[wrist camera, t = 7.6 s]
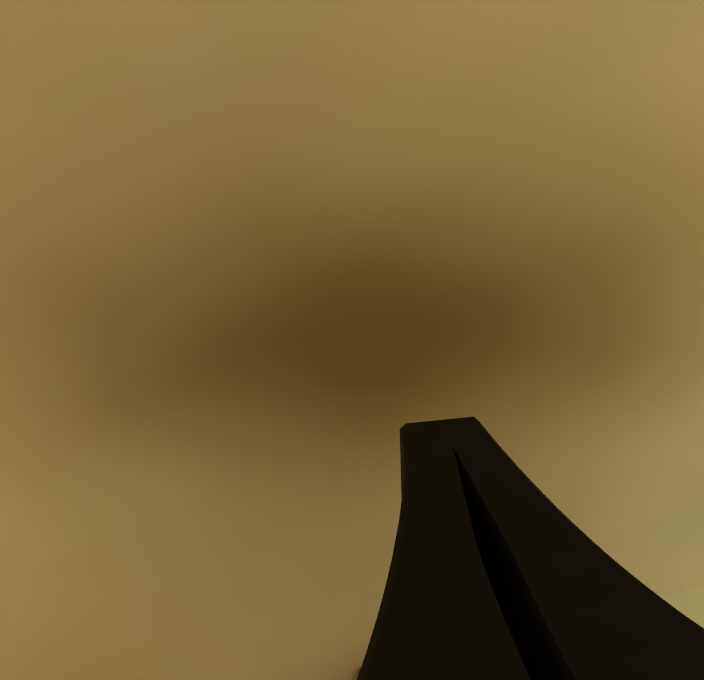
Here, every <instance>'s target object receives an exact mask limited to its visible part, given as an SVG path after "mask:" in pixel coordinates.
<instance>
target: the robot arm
mask: <svg viewBox="0 0 704 680" xmlns="http://www.w3.org/2000/svg"><path fill="white" fill-rule="evenodd" d="M400 454H401V492H402V502H401V511H400V518H399V524H398V530H397V535H396V540H395V546H394V551H393V556H392V561H391V566H390V570H389V574H388V579H387V583H386V587H385V591H384V594H383V598H382V602H381V605H380V609H379V613H378V616H377V620H376V623H375V626H374V629H373V633H372V636H371V639H370V642H369V645H368V649H367V652H366V655H365V658H364V661H363V664H362V667H361V670H360V673H359V676H358V678H357V680H704V628H702V627H701V626H699V625H698V624H696V623H695V622H693V621H692V620H691V619H689V618H688V617H686V616H685V615H683V614H682V613H680V612H679V611H678V610H676V609H675V608H674V607H673V606H671V605H670V604H669V603H667V602H666V601H665V600H663V599H662V598H661V597H659V596H658V595H657V594H655V593H654V592H653V591H651V590H650V589H649V588H648V587H646V586H645V585H644V584H643V583H641V582H640V581H639V580H638V579H636V578H635V577H634V576H633V575H632V574H630V573H629V572H628V571H627V570H625V569H624V568H623V567H622V566H620V565H619V564H618V563H617V562H616V561H615V560H613V559H612V558H611V557H610V556H609V555H608V554H606V553H605V552H604V551H603V550H602V549H601V548H600V547H598V546H597V545H596V544H595V543H594V542H593V541H592V540H591V539H590V538H589V537H587V536H586V535H585V534H584V533H583V532H582V531H581V530H580V529H579V528H578V527H577V526H576V525H574V524H573V523H572V522H571V521H570V520H569V519H568V518H567V517H566V516H565V515H564V514H563V513H562V512H561V511H560V510H559V509H558V508H557V507H556V506H555V505H554V504H553V503H552V502H551V501H550V500H549V499H548V498H547V497H546V496H545V495H544V494H543V493H542V492H541V491H540V490H539V489H538V488H537V487H536V486H535V485H534V484H533V483H532V481H531V480H530V479H529V478H528V477H527V476H526V475H525V474H524V473H523V472H522V471H521V470H520V469H519V467H518V466H517V465H516V464H515V463H514V462H513V461H512V460H511V458H510V457H509V456H508V455H507V454H506V453H505V452H504V451H503V449H502V448H501V447H500V446H499V445H498V444H497V442H496V441H495V440H494V439H493V438H492V436H491V435H490V434H489V433H488V432H487V430H486V429H485V428H484V427H483V426H482V424H481V423H480V422H479V421H478V420H477V419H476V418H474V417H466V418H456V419H447V420H437V421H427V422H417V423H407V424H405V425H404V426H403V427H402V428H401V429H400Z"/></svg>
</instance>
